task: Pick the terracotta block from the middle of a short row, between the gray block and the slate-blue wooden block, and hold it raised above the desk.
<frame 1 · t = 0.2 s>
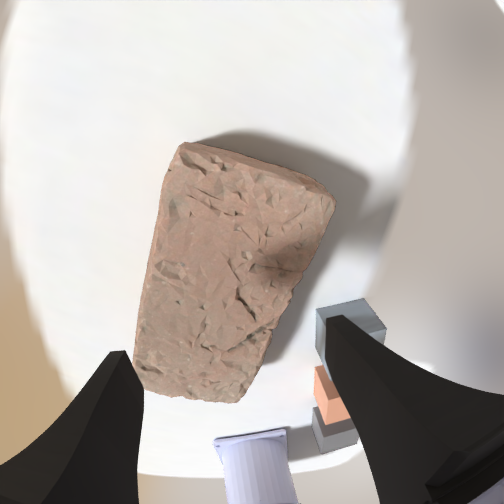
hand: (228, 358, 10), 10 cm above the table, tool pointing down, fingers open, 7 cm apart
terracotta block: (334, 375, 26), on the table
brick: (212, 275, 21), on the table
gray block: (329, 412, 29), on the table
slate block: (338, 323, 24), on the table
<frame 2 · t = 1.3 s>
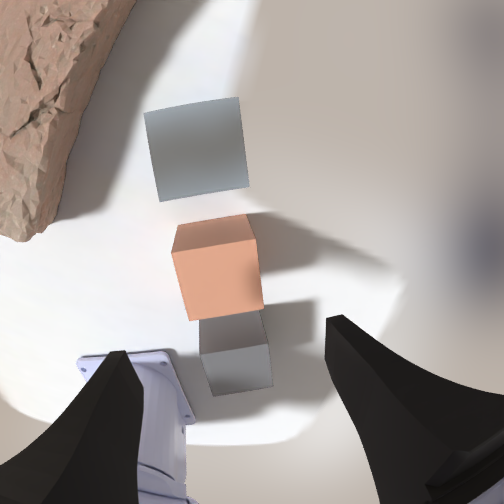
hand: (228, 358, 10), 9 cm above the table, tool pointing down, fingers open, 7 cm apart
terracotta block: (216, 249, 19), on the table
brick: (44, 84, 13), on the table
gray block: (232, 332, 21), on the table
slate block: (199, 142, 16), on the table
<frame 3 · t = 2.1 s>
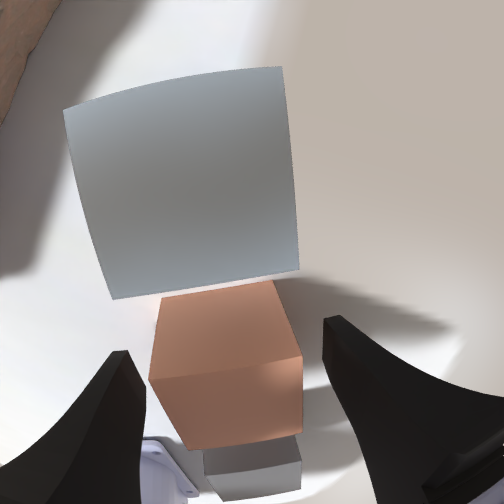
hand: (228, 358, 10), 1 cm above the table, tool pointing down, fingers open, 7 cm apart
terracotta block: (225, 331, 12), on the table
gray block: (246, 420, 14), on the table
slate block: (192, 160, 9), on the table
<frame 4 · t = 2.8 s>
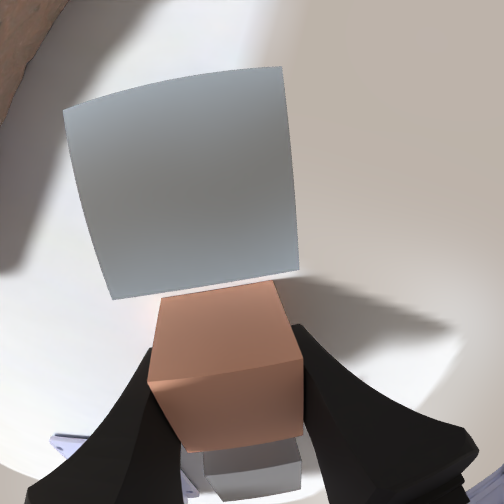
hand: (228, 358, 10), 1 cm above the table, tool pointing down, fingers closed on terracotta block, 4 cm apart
terracotta block: (225, 332, 12), on the table, touching gripper
gray block: (246, 420, 14), on the table
slate block: (192, 160, 9), on the table
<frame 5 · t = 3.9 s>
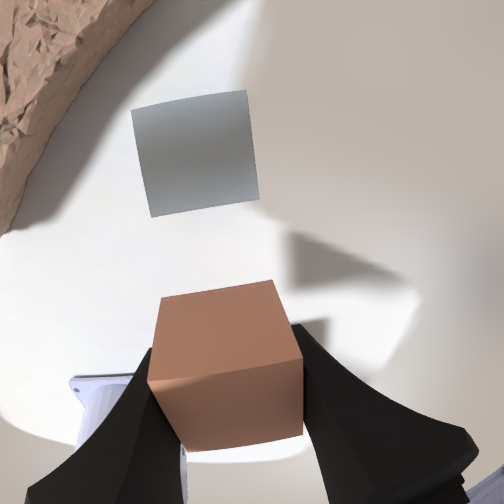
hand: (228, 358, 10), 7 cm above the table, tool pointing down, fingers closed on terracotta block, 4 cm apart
terracotta block: (225, 332, 12), point 5 cm above the table, touching gripper
brick: (25, 82, 11), on the table
slate block: (198, 144, 14), on the table
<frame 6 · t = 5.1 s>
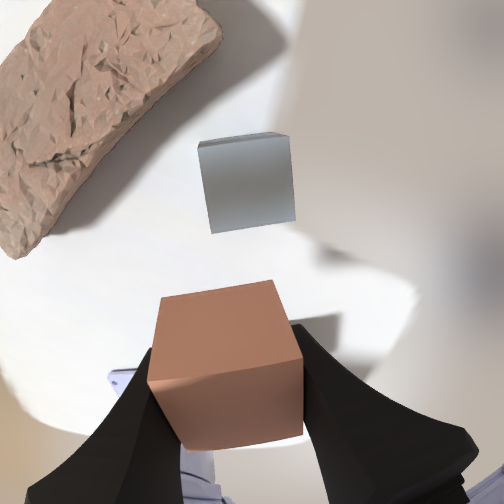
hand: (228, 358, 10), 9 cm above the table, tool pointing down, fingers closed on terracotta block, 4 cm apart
terracotta block: (225, 332, 12), point 8 cm above the table, touching gripper
brick: (76, 105, 14), on the table
slate block: (239, 170, 17), on the table
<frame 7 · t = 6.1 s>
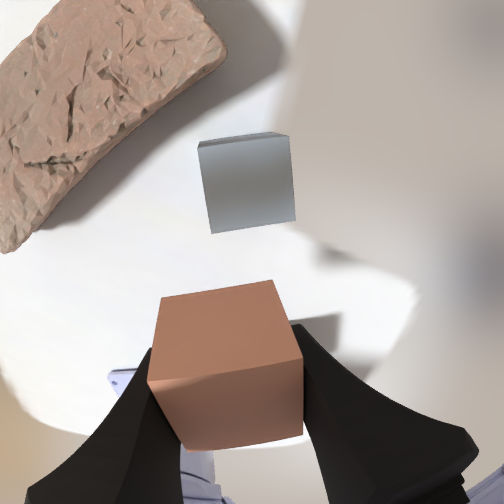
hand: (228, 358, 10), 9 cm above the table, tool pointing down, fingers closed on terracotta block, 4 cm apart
terracotta block: (225, 332, 12), point 8 cm above the table, touching gripper
brick: (76, 105, 14), on the table
slate block: (239, 170, 17), on the table
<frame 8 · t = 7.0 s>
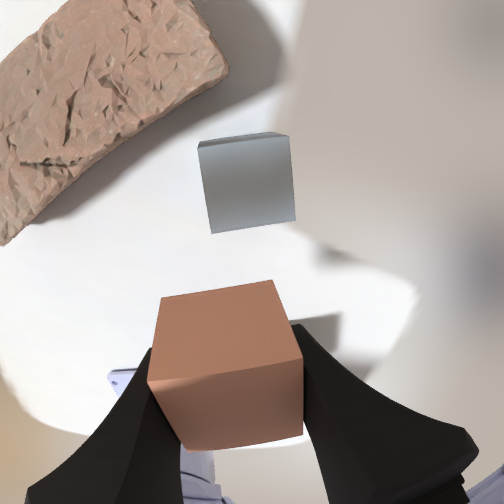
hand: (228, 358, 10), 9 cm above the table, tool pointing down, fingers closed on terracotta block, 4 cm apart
terracotta block: (225, 332, 12), point 8 cm above the table, touching gripper
brick: (75, 106, 14), on the table
slate block: (239, 170, 17), on the table
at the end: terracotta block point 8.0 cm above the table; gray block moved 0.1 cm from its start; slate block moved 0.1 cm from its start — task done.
